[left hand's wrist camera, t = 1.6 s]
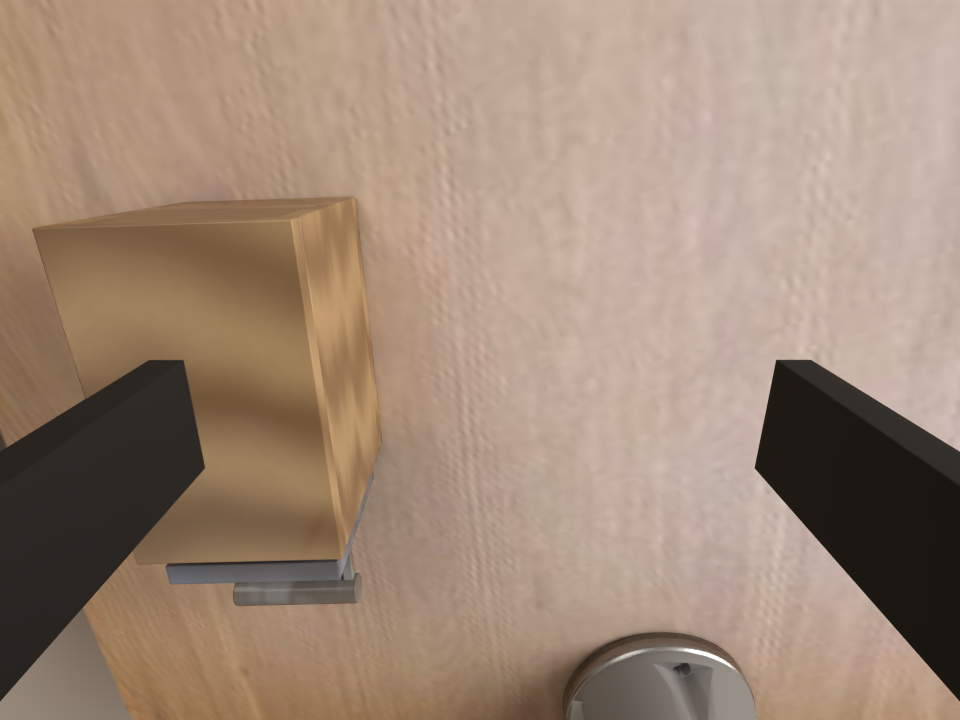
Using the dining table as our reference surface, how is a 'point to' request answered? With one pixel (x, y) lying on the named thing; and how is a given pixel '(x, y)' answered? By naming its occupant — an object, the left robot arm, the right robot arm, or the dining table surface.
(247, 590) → the drawer
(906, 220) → the dining table surface
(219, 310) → the cabinet
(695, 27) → the dining table surface
